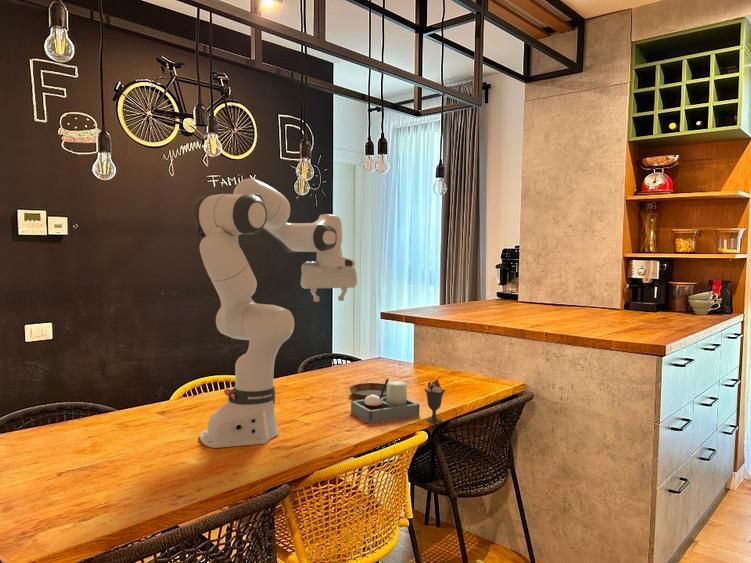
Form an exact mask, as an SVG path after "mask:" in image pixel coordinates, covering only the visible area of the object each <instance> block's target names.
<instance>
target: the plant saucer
mask: <svg viewBox="0 0 751 563" xmlns="http://www.w3.org/2000/svg"><path fill="white" fill-rule="evenodd" d="M384 385H385V383H381V382H365V383H364V382H363V383H359V384H358V383H357V384H354V385H352V386H350V387H349V388H348V389H349V392H350V393H351V394H352V395H353V397H354V398H355V399H358V398H359V399H358V400H361V399H363V400H365V398H366V397H367V396H370V395H372V394H373V395H376V396H379V397H380V395H381V392H382V390H383V387H384ZM382 397H387V385H386V388H385V390H384V393H383V396H382Z"/></svg>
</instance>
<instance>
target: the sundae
mask: <svg viewBox="0 0 751 563" xmlns="http://www.w3.org/2000/svg"><path fill="white" fill-rule="evenodd" d="M439 379H441V376H438V378H437V379H436V380H434V381H432V382H430V381H428V385H427V388H424V392H425V393H426V399H427V400H426V401H427V406H428V408H429V409H430V410H431V411H432V412H431V413H432V414H431V417H429V418H427V419H426V420H425V421H426V422H428V423H431V424H439V423H441V422H442V421H443V420H442V419H441V418H438V417H437V410H439V409H440V408H441V405H442V399H443V395H444V394H445V392H446V390H445V389H442V388H443V387H442V386H441V383H440V381H439Z"/></svg>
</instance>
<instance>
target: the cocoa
mask: <svg viewBox="0 0 751 563" xmlns="http://www.w3.org/2000/svg"><path fill="white" fill-rule="evenodd" d="M389 380H390V378H389V377H388V378H387V379H386V380H385V382H384V384H385V385H384V387H383V390H382V392H381V395H380V397H379V396H376V395H373V394H372V395H370V396H367V397H366V398H365V400H364V403H363V402H362V403H361V404H364V407H366V408H368V409H369V410H376V409H382V407H383V399H382V396H383V393H384V390H385V388H386V385H387V383H388V382H389ZM361 404H360V405H361Z"/></svg>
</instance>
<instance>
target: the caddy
mask: <svg viewBox="0 0 751 563" xmlns="http://www.w3.org/2000/svg"><path fill="white" fill-rule="evenodd" d="M407 394H408V383H407V382H404V381H397V380H395V381H388V383H387V397H382V399H383V407H382V409H376V410H369V409H368V408H366V407H364V404H361V403H362V402H363V403H364V400H361V399H358V400H352V401H350V414H352V415H353V414H354V415H353V416H355V415H356V417H357V418H359V419H360V418H361V420H362V419H363V420H362V421H364V422H365V421H366V422H365V423H367V422H368V423H367V424H369V425H371V424H370V423H372V424H377V423H376V422H378V423H383V422H382V421H384V422H390V420H391V421H397V420H402V419H408V418H414V417H420V403H418V402H415V401H413V400H411V399H409V398H407ZM360 404H361V405H360ZM396 419H397V420H396Z"/></svg>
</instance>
